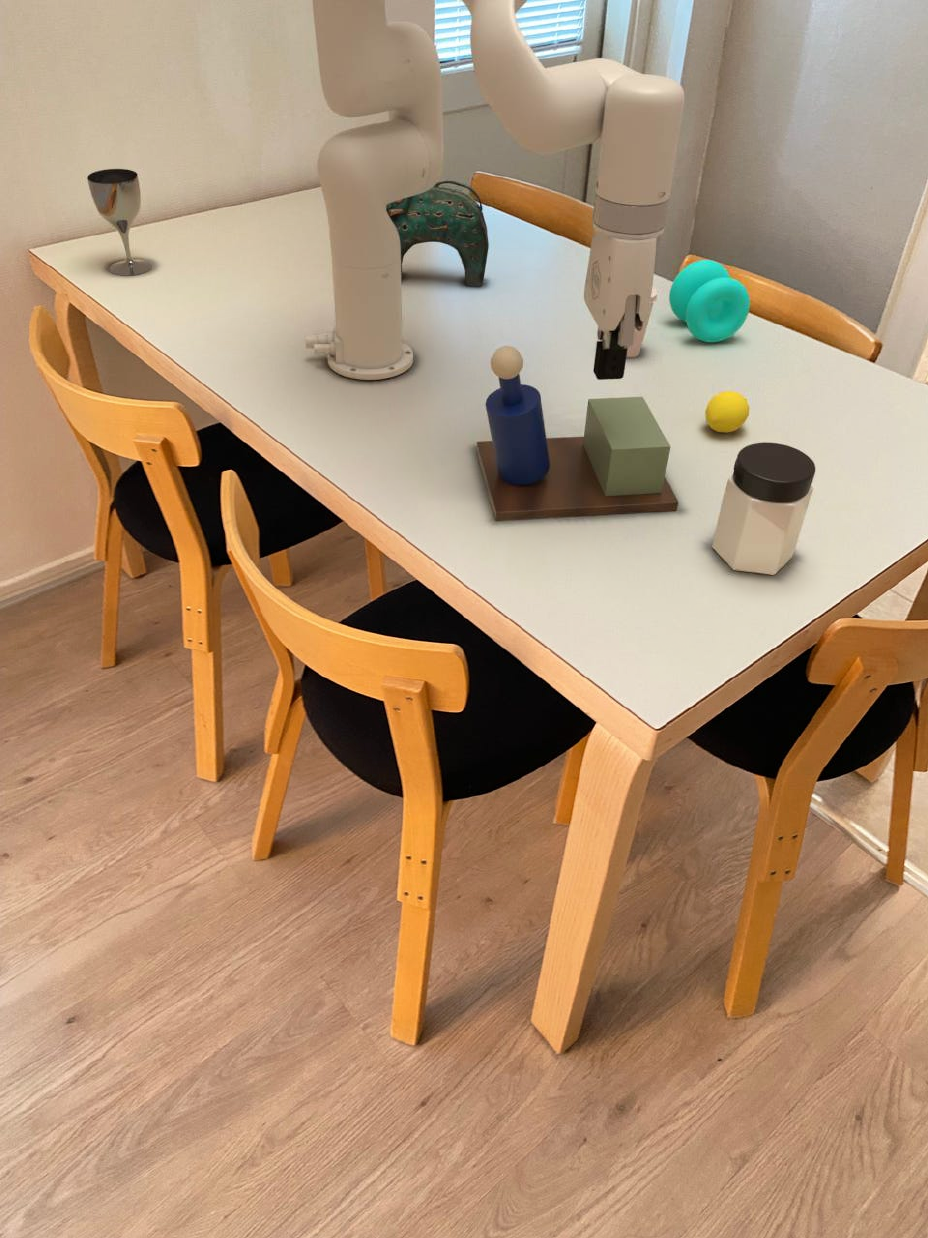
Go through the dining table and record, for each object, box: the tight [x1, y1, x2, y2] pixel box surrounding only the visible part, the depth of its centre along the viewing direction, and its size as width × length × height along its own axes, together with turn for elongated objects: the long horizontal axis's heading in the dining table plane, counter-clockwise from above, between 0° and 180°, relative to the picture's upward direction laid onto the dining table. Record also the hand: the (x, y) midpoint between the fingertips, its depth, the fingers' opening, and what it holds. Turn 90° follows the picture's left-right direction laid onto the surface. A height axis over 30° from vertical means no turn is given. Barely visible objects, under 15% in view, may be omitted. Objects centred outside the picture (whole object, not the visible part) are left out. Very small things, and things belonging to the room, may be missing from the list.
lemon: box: [704, 390, 750, 434], centre depth 129 cm, size 7×5×5 cm
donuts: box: [668, 259, 751, 343], centre depth 151 cm, size 10×10×10 cm
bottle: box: [485, 345, 550, 485], centre depth 114 cm, size 14×6×15 cm
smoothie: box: [626, 286, 658, 358], centre depth 143 cm, size 6×6×14 cm
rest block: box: [583, 396, 671, 496], centre depth 119 cm, size 7×12×6 cm, turn 8°
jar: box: [711, 441, 816, 576], centre depth 106 cm, size 9×8×12 cm
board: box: [475, 436, 679, 522], centre depth 120 cm, size 22×16×1 cm
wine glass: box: [86, 168, 153, 277], centre depth 163 cm, size 8×8×15 cm
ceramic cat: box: [386, 180, 490, 288], centre depth 161 cm, size 20×6×20 cm, turn 83°
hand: (608, 375), depth 112 cm, fingers closed
